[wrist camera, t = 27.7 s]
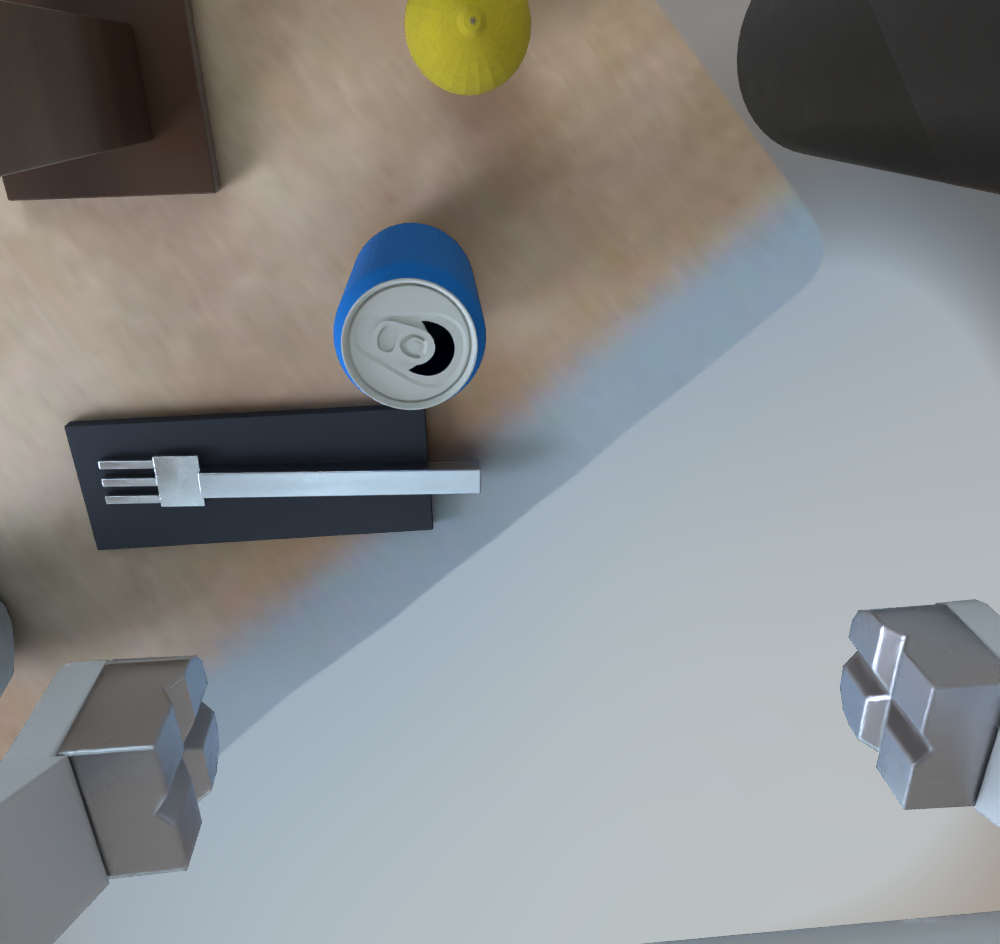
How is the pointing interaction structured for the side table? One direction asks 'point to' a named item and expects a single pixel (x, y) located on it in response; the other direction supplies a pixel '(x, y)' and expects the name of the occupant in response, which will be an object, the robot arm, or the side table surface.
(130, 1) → the stand
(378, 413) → the dark grey flat slab
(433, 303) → the beverage can
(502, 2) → the lemon
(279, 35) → the side table surface
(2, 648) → the cup
